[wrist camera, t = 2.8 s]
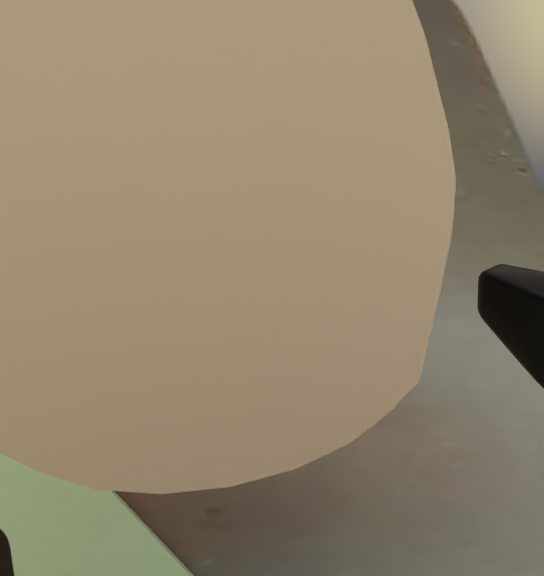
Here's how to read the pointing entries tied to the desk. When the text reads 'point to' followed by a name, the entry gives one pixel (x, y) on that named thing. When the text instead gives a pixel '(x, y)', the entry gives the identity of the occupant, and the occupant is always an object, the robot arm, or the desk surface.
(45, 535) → the mat
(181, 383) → the handle
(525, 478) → the desk surface
